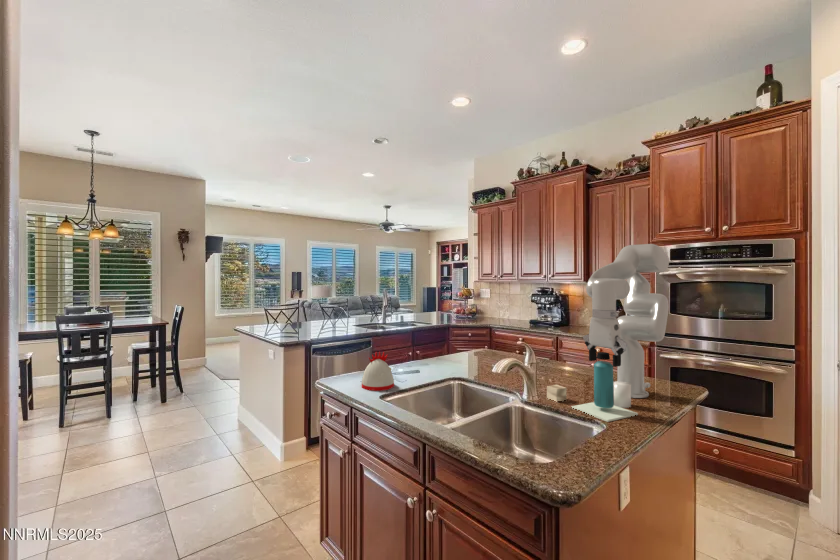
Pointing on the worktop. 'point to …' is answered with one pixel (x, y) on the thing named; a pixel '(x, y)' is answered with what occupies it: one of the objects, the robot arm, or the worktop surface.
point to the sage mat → (605, 412)
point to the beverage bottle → (603, 382)
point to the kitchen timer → (377, 374)
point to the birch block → (556, 393)
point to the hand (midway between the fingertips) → (604, 363)
